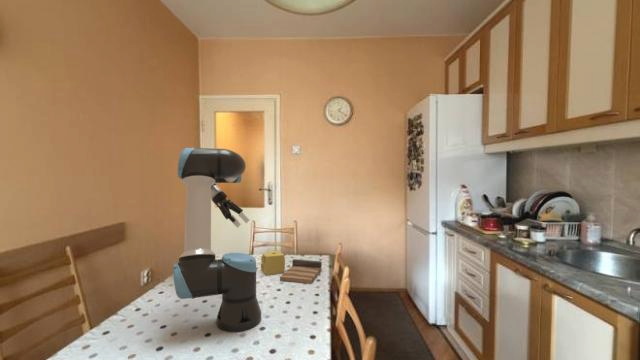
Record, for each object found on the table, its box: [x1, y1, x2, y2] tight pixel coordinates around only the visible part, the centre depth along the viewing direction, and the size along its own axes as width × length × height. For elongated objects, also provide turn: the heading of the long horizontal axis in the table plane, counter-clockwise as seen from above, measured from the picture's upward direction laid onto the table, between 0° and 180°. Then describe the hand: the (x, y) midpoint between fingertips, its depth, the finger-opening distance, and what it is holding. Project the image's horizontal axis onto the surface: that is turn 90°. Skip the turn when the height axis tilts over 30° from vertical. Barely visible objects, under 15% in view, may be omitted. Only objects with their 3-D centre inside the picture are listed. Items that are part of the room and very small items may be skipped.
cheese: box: [260, 250, 286, 276], centre depth 155 cm, size 10×11×10 cm
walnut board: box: [279, 258, 323, 285], centre depth 149 cm, size 20×16×5 cm
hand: (244, 223), depth 155 cm, fingers open, 13 cm apart
